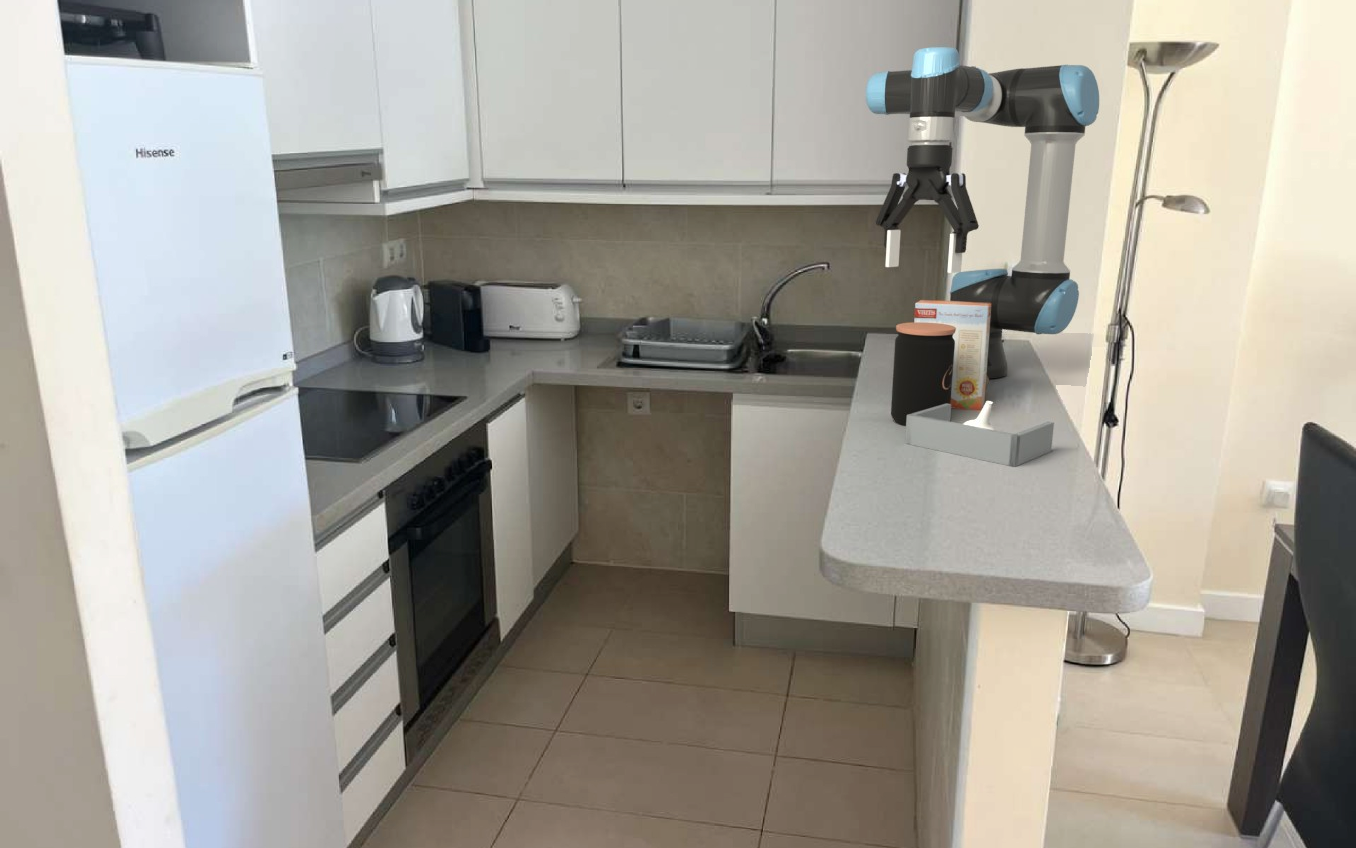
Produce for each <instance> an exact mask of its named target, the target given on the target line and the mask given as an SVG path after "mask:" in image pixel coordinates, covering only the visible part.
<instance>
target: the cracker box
mask: <svg viewBox="0 0 1356 848" xmlns="http://www.w3.org/2000/svg"><path fill="white" fill-rule="evenodd" d="M914 305H915V306H914V319H913V320H914V322H925V323H939V324H946V325H951V326H954V327H956V331H955V333H954V334H953V339H954V340H955V350H954V363H953V377H952V391H951V409H960V410H971V409H974V411H981V410H982V409H983V408H982V407H984V405H985V402H986V401H985V399H986V398H985V397H986V393H985V387H986V373H987V359H988V345H989V331H990V316H991V303H977V302H960V301H950V300H934V299H933V300H931V299H920V300H918V301H917V302H915V304H914Z"/></svg>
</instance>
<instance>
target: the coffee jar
mask: <svg viewBox="0 0 1356 848" xmlns="http://www.w3.org/2000/svg"><path fill="white" fill-rule="evenodd" d="M895 330H896V332H897V333H898V335H897V336H896V338H895V339H894V354H893V372H892V388H891V389H892V390H891V404H890V407H891V408H890V416H891V417H892V419H893V421H894V423H896V424H897V425H900V426H902V427H906V421H907V415H909V414H912V413H915V412H919V411H922V410H926V409H929V408H932V407H936V406H939V405H943V404H946V403H947V404H951V391H952V377H953V363H954V350H955V340H954V339H953V334H954V333H955V331H956V327H954V326H951V325H946V324H939V323H925V322H913V321H912V322H903V323H898V324H897V325H896V326H895Z"/></svg>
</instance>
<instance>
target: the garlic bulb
mask: <svg viewBox="0 0 1356 848" xmlns="http://www.w3.org/2000/svg"><path fill="white" fill-rule="evenodd" d="M993 404H994V402H993V401H991V400H986V401H985V402H984V406H983V408H982V409H981V410H980V412H979V414H978V415H977V417H976V418H975V419H970V420H967V421H965V422H964V423H963V424H964V425H970V426H975V427H980V428H985V429H991V430H995V428H994V427H993V425H991V424H990V420H991V419H990V417H991V411H992V407H993Z"/></svg>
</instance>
